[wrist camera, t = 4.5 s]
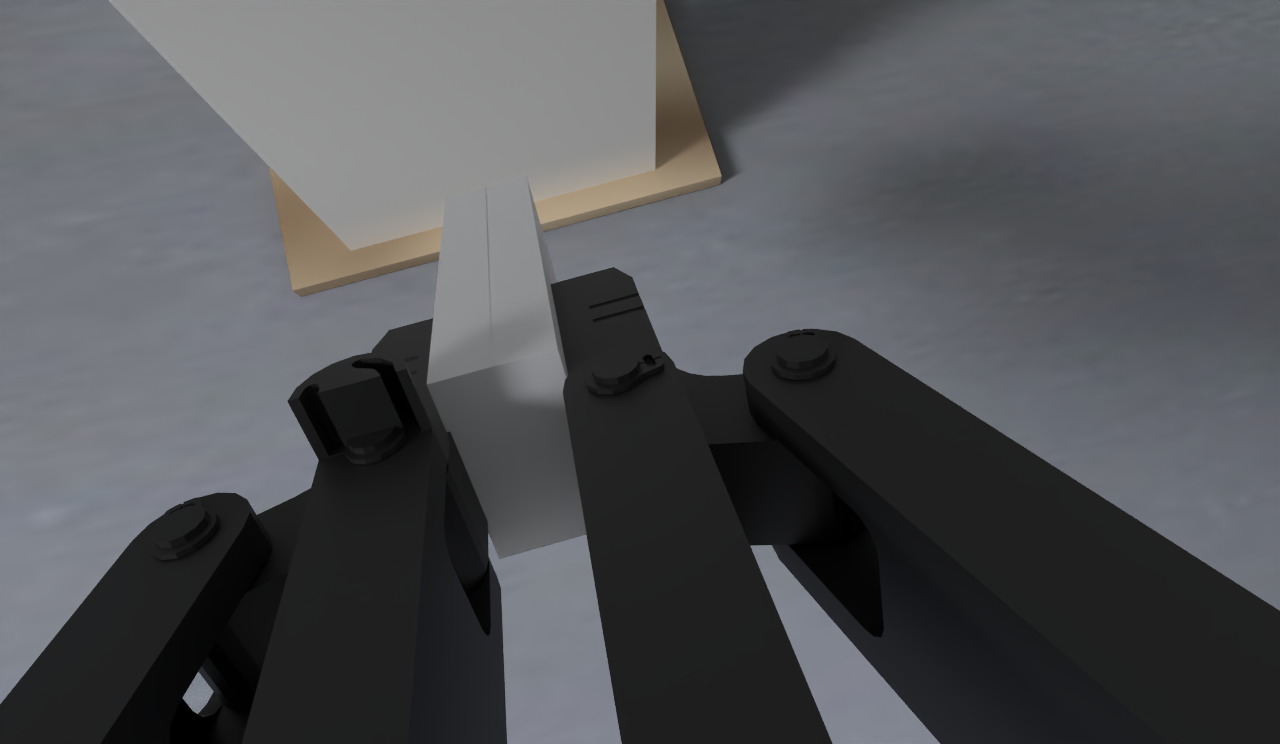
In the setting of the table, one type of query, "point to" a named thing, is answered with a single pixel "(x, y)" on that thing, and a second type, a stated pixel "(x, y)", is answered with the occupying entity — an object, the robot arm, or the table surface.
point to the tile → (419, 96)
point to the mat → (677, 171)
